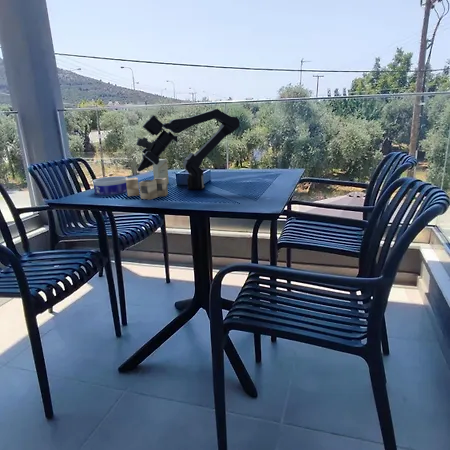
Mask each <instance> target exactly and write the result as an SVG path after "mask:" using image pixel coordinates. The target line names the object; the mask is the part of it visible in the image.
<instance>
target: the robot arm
mask: <svg viewBox="0 0 450 450" xmlns="http://www.w3.org/2000/svg"><path fill="white" fill-rule="evenodd" d="M211 120H216V121H217V122H219V123H220V126H219V128H218V130H217V131H216V132H215V133H214V134H213V135H212V136H211V137H210V138H209V139H208V140H207V141H206V142H205V144H203V146H201V147H200V148H199V149H198V150H197V152H195V153H192V152H189V154H188V155H187V157H184V159H183V162H182V163H183V164H182V166H183V169H184V170H185V171H187V173H188V175H187V178H186V180H187V190H203V189H204V188H205V185H204V184H205V183H204V182H205V181H204V170H203V169H202V168H201V167H200V166H201V165H202V164H203V161H204V159H206V157H207V156H208V155H209V154H210V153H212V151H213V150H214V149H215V148H216V147H217V146H218V145H219V144H220V143H221V142H222V141H223V139H225V138H226V137H227V136H229V135H231V134H232V133H234V132H235V131H236V130H238V129H239V128H240V123H241V122H240V119H239V118H238V117H236V116H231V115H230V114H226V113H225V112H223V111H221V110H220V109H218V108H214V109H211V110H209V111H204V112H201V113H199V114H196V115H192V116H189V117H182V118H173V119H170V120H169V122H164V123H162V121H160V120H159V119H158V118H157V117H156V116H155V115H154V114H153V115H151V116H150V118H149V119H147V120H146V121H145V122H144V124H143V125H142V128H143V129H144V130H146V131H147V132H148V133H149V134H150V135H151V136H152V137H153V136H155V137H156V138H155V139H154V140H152V141H149V140H148V138H146V137H137V138H138V139H137V142H136V146H138V147H142V148H144V149H142V151H141V152H142V154H141V156H142V160H141V162H140V163H139V165H138V167H137V170H136V171H137V172H139V173H140V172H142V171H143V170H146V169H147V168H149V167H153V165H154V163H155V164H156V165H157V164H158V163H159V159H160V156H161V154H162V155H163V152H166V149H167V148H168V146H169V145H170V144H171V143H172V142H175V143H178V135H174V134H179V133H182V132H184V131H185V130H187V129H189V128H191V127H192V126H195V125H199V124H202V123H205V122H209V121H211ZM166 130H169V131H166ZM173 133H174V134H173ZM153 162H154V163H153Z"/></svg>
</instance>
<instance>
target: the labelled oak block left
mask: <svg viewBox="0 0 450 450" xmlns="http://www.w3.org/2000/svg"><path fill="white" fill-rule="evenodd" d="M152 180H156V183H157V193H158V197H166V196H168V194H169V191H168V184H167V178H155V179H154V178H153V179H152Z"/></svg>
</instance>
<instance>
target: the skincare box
mask: <svg viewBox="0 0 450 450" xmlns="http://www.w3.org/2000/svg"><path fill="white" fill-rule="evenodd" d="M153 163H154V162H153ZM152 173H153V179H155V178H167V185H168V184H170V179H169V168H168V159H167V158H159V163H158V164H157V165H156V164H155V163H154V165H152Z"/></svg>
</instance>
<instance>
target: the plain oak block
mask: <svg viewBox="0 0 450 450" xmlns="http://www.w3.org/2000/svg"><path fill="white" fill-rule="evenodd" d="M126 186H127V191H126V193H127V197H133V196H134V197H136V196H140V188H139V179H138V177H127V178H126Z"/></svg>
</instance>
